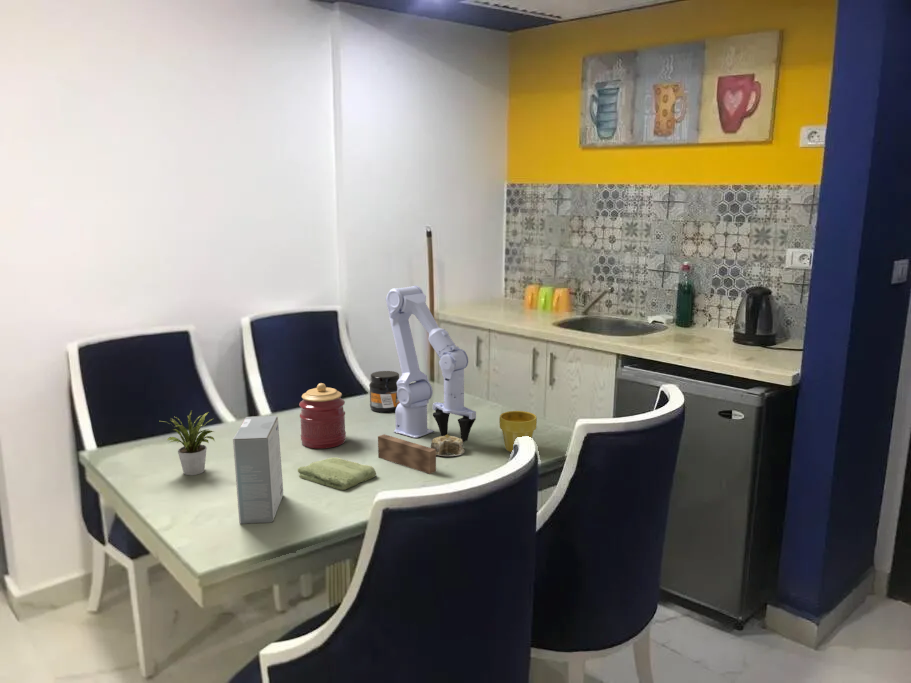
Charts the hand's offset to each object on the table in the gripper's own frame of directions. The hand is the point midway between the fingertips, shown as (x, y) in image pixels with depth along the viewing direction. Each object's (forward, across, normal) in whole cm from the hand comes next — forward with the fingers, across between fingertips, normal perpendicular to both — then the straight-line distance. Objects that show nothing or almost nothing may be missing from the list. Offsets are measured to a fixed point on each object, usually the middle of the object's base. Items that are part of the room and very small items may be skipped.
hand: (454, 438), depth 210 cm
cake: (+2, +2, -5) cm, 6 cm away
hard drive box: (+2, -6, -61) cm, 61 cm away
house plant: (+2, -39, -60) cm, 72 cm away
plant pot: (+2, +16, +9) cm, 18 cm away
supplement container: (+2, -41, +13) cm, 43 cm away
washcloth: (+3, -8, -37) cm, 38 cm away
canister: (+2, -31, -22) cm, 38 cm away
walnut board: (+2, 0, -20) cm, 20 cm away
